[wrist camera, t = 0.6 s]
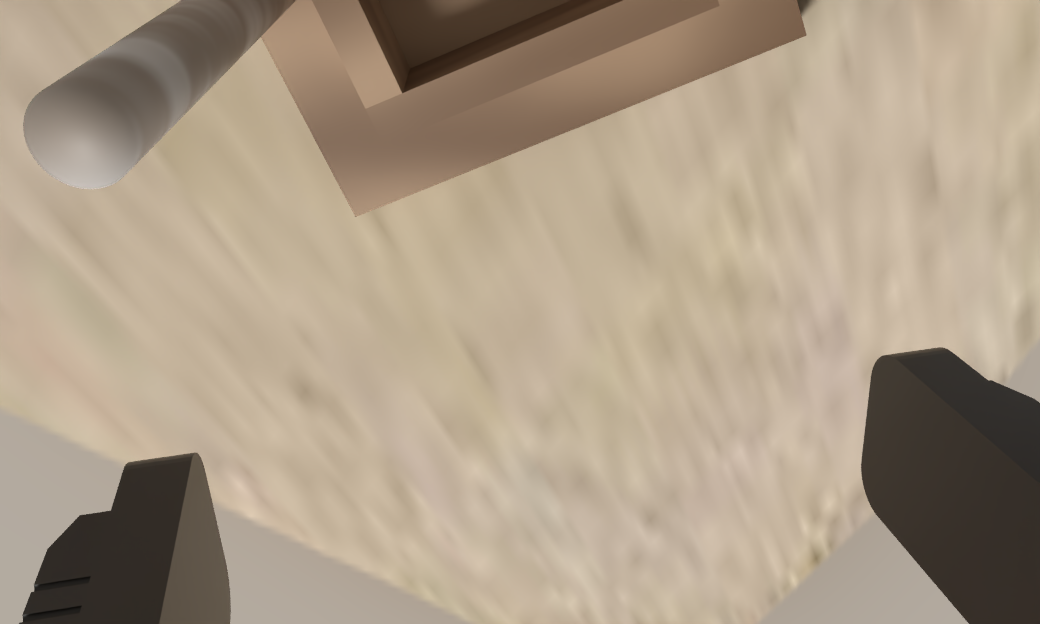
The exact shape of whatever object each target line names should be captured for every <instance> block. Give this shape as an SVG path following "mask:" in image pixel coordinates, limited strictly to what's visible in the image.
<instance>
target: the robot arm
mask: <svg viewBox="0 0 1040 624" xmlns="http://www.w3.org/2000/svg"><path fill="white" fill-rule="evenodd" d="M861 472H862V480H863V485H864V489H865V493H866V496H867V498H868V501H869V503H870V505H871V507H872V509H873V510H874V512H875V513H876V515H877V516H878V517H879V518H880V520H881V521H882V522H883V523H884V524H885V525H886V526H887V528H888V529H889V530H890V531H891V533H892V534H893V535H894V536H895V537H896V538H897V540H898V541H899V542H900V543H901V544H902V545H903V546H904V548H905V549H906V550H907V551H908V552H909V554H910V555H911V556H912V557H913V558H914V560H915V561H916V562H917V563H918V564H919V565H920V567H921V568H922V569H923V570H924V571H925V573H926V574H927V575H928V576H929V577H930V578H931V579H932V581H933V582H934V583H935V584H936V585H937V587H938V588H939V589H940V590H941V591H942V592H943V594H944V595H945V596H946V597H947V598H948V600H949V601H950V602H951V603H952V604H953V605H954V607H955V608H956V609H957V610H958V611H959V612H960V614H961V615H962V616H963V617H964V618H965V620H967V622H968V623H969V624H1040V403H1039V402H1038V401H1036V400H1035V399H1033V398H1031V397H1029V396H1026V395H1024V394H1022V393H1019V392H1017V391H1015V390H1012V389H1010V388H1008V387H1005V386H1003V385H1001V384H998V383H996V382H994V381H988V380H987V379H985V378H984V377H983V376H982V375H980V374H979V373H978V372H977V371H975V370H974V369H973V368H971V367H970V366H969V365H968V364H966V363H965V362H964V361H963V360H961V359H960V358H959V357H957V356H956V355H955V354H954V353H952V352H951V351H949V350H948V349H945V348H932V349H925V350H918V351H911V352H904V353H897V354H890V355H884V356H881V357H880V358H879V359H878V360H877V361H876V363H875V365H874V367H873V370H872V375H871V382H870V391H869V400H868V409H867V417H866V426H865V435H864V444H863V453H862V463H861ZM34 588H35V590H34V592H31V594H30V597H29V599H28V602H27V605H26V607H25V610H24V612H23V622H22V623H19V624H230V612H231V610H230V588H229V579H228V572H227V566H226V561H225V557H224V553H223V548H222V543H221V539H220V534H219V530H218V526H217V521H216V517H215V513H214V508H213V504H212V499H211V495H210V490H209V486H208V482H207V477H206V473H205V469H204V465H203V462H202V460H201V457H200V456H199V454H198V453H190V454H183V455H176V456H169V457H162V458H155V459H148V460H141V461H134V462H128V463H127V464H126V465H125V467H124V470H123V473H122V476H121V480H120V483H119V486H118V490H117V493H116V496H115V499H114V503H113V506H112V509H111V511H106V512H100V513H93V514H86V515H80V516H79V517H78V518H77V519H76V520H75V521H74V522H73V523H72V524H71V525H70V526H69V527H68V528H67V529H66V530H65V532H64V533H63V534H62V535H61V536H60V537H59V538H58V539H57V540H56V541H55V542H54V543H53V544H52V545H51V546H50V547H49V548H48V550H47V552H46V555H45V557H44V560H43V563H42V565H41V568H40V571H39V573H38V576H37V578H36V581H35V584H34Z"/></svg>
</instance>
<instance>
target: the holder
mask: <svg viewBox="0 0 1040 624" xmlns="http://www.w3.org/2000/svg"><path fill="white" fill-rule="evenodd" d="M804 36H806V32H805V28H804V24H803V21H802V17H801V13H800V10H799V6H798V2H797V0H181V1H180V2H178V3H177V4H175V5H174V6H172V7H171V8H169V9H167V10H166V11H164V12H163V13H161V14H160V15H158V16H157V17H155V18H153V19H152V20H150V21H149V22H147V23H146V24H144V25H143V26H141V27H140V28H138V29H136V30H135V31H133V32H132V33H130V34H129V35H127V36H126V37H124V38H123V39H121V40H119V41H118V42H116V43H115V44H113V45H112V46H110V47H109V48H107V49H106V50H104V51H102V52H101V53H99V54H98V55H96V56H95V57H93V58H92V59H90V60H89V61H87V62H85V63H84V64H82V65H81V66H79V67H78V68H76V69H75V70H73V71H72V72H70V73H68V74H67V75H65V76H64V77H62V78H61V79H59V80H58V81H56V82H55V83H53V84H51V85H50V86H48V87H47V88H45V89H44V90H42V91H41V92H40V93H38V94H37V95H36V96H35V97H34V98H33V99H32V101H31V102H30V104H29V105H28V107H27V110H26V113H25V116H24V123H23V127H24V136H25V140H26V143H27V146H28V148H29V151H30V153H31V154H32V156H33V158H34V159H35V160H36V162H37V163H38V164H39V165H40V166H41V167H42V168H43V170H45V171H46V172H47V173H48V174H49V175H51V176H52V177H54V178H55V179H57V180H59V181H60V182H62V183H65V184H67V185H69V186H73V187H76V188H82V189H99V188H104V187H107V186H110V185H112V184H114V183H116V182H118V181H119V180H120V179H122V178H123V177H124V176H125V175H126V174H127V173H128V172H129V171H130V170H131V169H132V168H133V167H134V166H135V165H136V164H137V163H138V162H139V161H140V160H141V158H142V157H143V156H144V155H145V154H146V153H147V152H148V151H149V150H150V149H151V148H152V147H153V146H154V145H155V144H156V143H157V142H158V141H159V140H160V139H161V138H162V137H163V136H164V135H165V134H166V133H167V132H168V131H169V130H170V129H171V128H172V127H173V126H174V125H175V124H176V123H177V122H178V121H179V120H180V119H181V118H182V117H183V116H184V115H185V114H186V113H187V112H188V110H189V109H190V108H191V107H192V106H193V105H194V104H195V103H196V102H197V101H198V100H199V99H200V98H201V97H202V96H203V95H204V94H205V93H206V92H207V91H208V90H209V89H210V88H211V87H212V86H213V85H214V84H215V83H216V82H217V81H218V80H219V79H220V78H221V77H222V76H223V75H224V74H225V73H226V72H227V71H228V70H229V69H230V68H231V67H232V66H233V65H234V64H235V62H236V61H237V60H238V59H239V58H240V57H241V56H242V55H243V54H244V53H245V52H246V51H247V50H248V49H249V48H250V47H251V46H252V45H253V44H254V43H255V42H256V41H257V40H258V39H259V38H260V37H261V38H262V40H263V42H264V44H265V46H266V48H267V49H268V51H269V53H270V55H271V57H272V59H273V61H274V63H275V65H276V67H277V68H278V70H279V72H280V74H281V76H282V78H283V80H284V82H285V84H286V86H287V87H288V89H289V91H290V93H291V95H292V97H293V99H294V101H295V103H296V105H297V106H298V108H299V110H300V112H301V114H302V116H303V118H304V120H305V122H306V124H307V125H308V127H309V129H310V131H311V133H312V135H313V137H314V139H315V141H316V143H317V144H318V146H319V148H320V150H321V152H322V154H323V156H324V158H325V160H326V162H327V163H328V165H329V167H330V169H331V171H332V173H333V175H334V177H335V179H336V181H337V182H338V184H339V186H340V188H341V190H342V192H343V194H344V196H345V198H346V200H347V201H348V203H349V205H350V207H351V209H352V211H353V213H354V215H355V217H357V216H359V215H362V214H364V213H367V212H369V211H372V210H374V209H377V208H379V207H382V206H384V205H387V204H389V203H392V202H394V201H397V200H399V199H402V198H404V197H406V196H409V195H411V194H414V193H416V192H419V191H421V190H424V189H426V188H429V187H431V186H434V185H436V184H439V183H441V182H444V181H446V180H449V179H451V178H454V177H456V176H459V175H461V174H464V173H466V172H469V171H471V170H473V169H476V168H478V167H481V166H483V165H486V164H488V163H491V162H493V161H496V160H498V159H501V158H503V157H506V156H508V155H511V154H513V153H516V152H518V151H521V150H523V149H526V148H528V147H531V146H533V145H536V144H538V143H541V142H543V141H545V140H548V139H550V138H553V137H555V136H558V135H560V134H563V133H565V132H568V131H570V130H573V129H575V128H578V127H580V126H583V125H585V124H588V123H590V122H593V121H595V120H598V119H600V118H603V117H605V116H608V115H610V114H612V113H615V112H617V111H620V110H622V109H625V108H627V107H630V106H632V105H635V104H637V103H640V102H642V101H645V100H647V99H650V98H652V97H655V96H657V95H660V94H662V93H665V92H667V91H670V90H672V89H675V88H677V87H679V86H682V85H684V84H687V83H689V82H692V81H694V80H697V79H699V78H702V77H704V76H707V75H709V74H712V73H714V72H717V71H719V70H722V69H724V68H727V67H729V66H732V65H734V64H737V63H739V62H742V61H744V60H746V59H749V58H751V57H754V56H756V55H759V54H761V53H764V52H766V51H769V50H771V49H774V48H776V47H779V46H781V45H784V44H786V43H789V42H791V41H794V40H796V39H799V38H801V37H804Z"/></svg>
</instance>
